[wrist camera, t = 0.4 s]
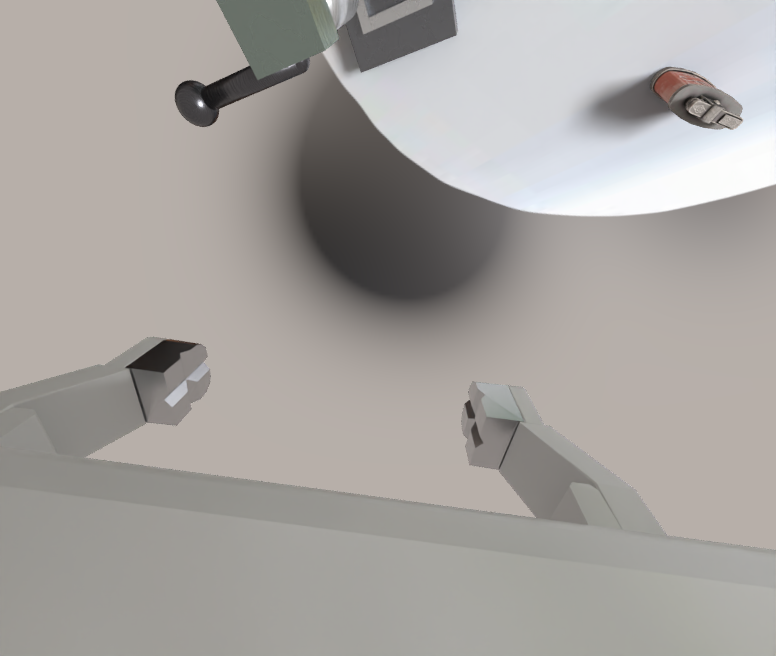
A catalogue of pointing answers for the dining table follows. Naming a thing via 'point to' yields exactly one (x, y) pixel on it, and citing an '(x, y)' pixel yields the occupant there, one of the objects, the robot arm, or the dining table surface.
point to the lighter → (696, 99)
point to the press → (312, 42)
